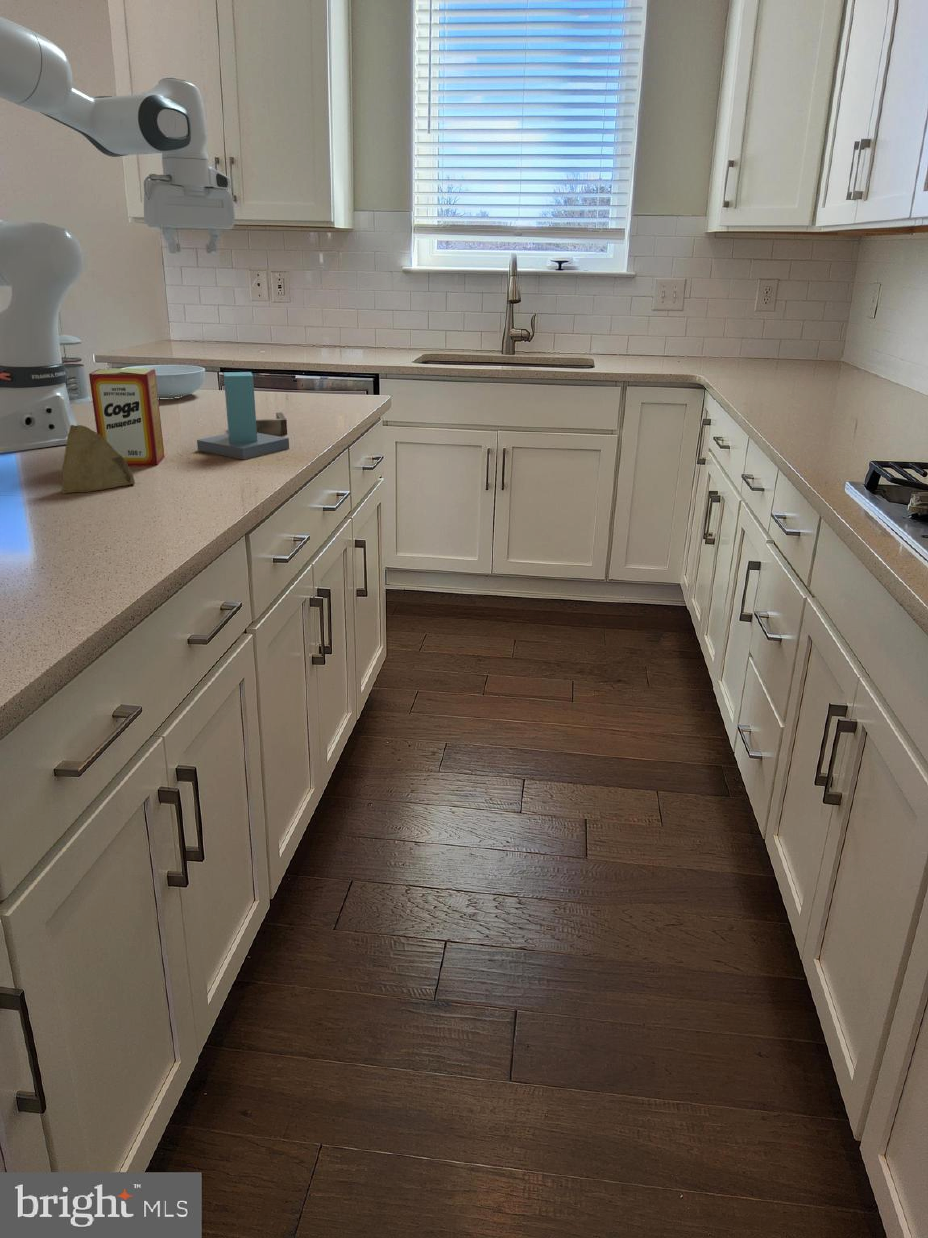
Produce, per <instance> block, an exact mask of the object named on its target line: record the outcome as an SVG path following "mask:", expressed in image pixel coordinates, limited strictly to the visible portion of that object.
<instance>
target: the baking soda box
mask: <svg viewBox="0 0 928 1238" xmlns="http://www.w3.org/2000/svg"><path fill="white" fill-rule="evenodd" d="M125 368H126V367H125ZM88 377H89V383H90V384H89V385H90V392H91V398H92V400H93V401H92V405H93V406H92V407H93V413H94V421H95V428H96V433H98V434H99V435H101V436H103V437H104V439H105V440H106V441H107V442H108V443H109V444H110V445H111V446H112V447H113V448H114V450H115V451H116V452H117V453H118V454H119V455H121V456H122V457H123V458H124V459H125V461H126V463H127V465H128V467H131V466H135V467H137V466H139V467H141V466H144V467H145V466H147V467H148V466H149V467H150V466H151V467H153V466H156V467H157V466H159V464H160V463H161V462H162V461H163V460H164V459H165V449H164V448H165V447H164V440H163V439H164V438H163V431H162V420H161V412H160V411H161V410H160V403H159V402H160V400H158V392H157V382H156V373H155V369H134V368H126V369H121V368H98V369H96V370H94V371H92V372H90V373H89V374H88Z"/></svg>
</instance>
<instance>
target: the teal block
mask: <svg viewBox="0 0 928 1238" xmlns="http://www.w3.org/2000/svg"><path fill="white" fill-rule="evenodd" d="M223 381H224V384H223V385H224V394H225V396H224V397H225V406H226V407H225V408H226V419H227V421H226V422H227V430H228V431H227V432H228V433H227V434H229V440H230V442H250V441H257V427H256V420H257V415H256V400H255V399H256V398H255V386H254V375H253V373H252V371H239V372H238V371H236V372H234V371H232V372H231V371H230V372H227V371H226V372H223Z"/></svg>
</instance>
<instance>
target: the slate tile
mask: <svg viewBox="0 0 928 1238" xmlns="http://www.w3.org/2000/svg"><path fill="white" fill-rule="evenodd" d="M196 443H197V451H198V452H203V453H209V454H214V455H220V456H222V457H223V456H224V457H229V458H233V457H235V459H239V460H247V459H250V458H249V457H251V458H255V457H259V456H263V455H264V456H265V455H268V454H271V453H276V452H279V451H285V450H288V449H290V439H289V437H284V436H280V435H268V434H262V433H257V441H250V442H230V440H229V434H228V433H224V434H219V435H214V436H210V437H205V438H200V439H197V440H196ZM246 458H247V459H246Z"/></svg>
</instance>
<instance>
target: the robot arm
mask: <svg viewBox="0 0 928 1238" xmlns="http://www.w3.org/2000/svg"><path fill="white" fill-rule="evenodd" d="M73 76H74V75H73V71H72V68H71V64H70V61H69V59H68V57H67V55H66V53H65V52H64V51H63V49H61V48H60V47H59V46H57V45H56V44H55V43H54V42H52V41H51V40H49V39H48V38H47V37H46V36H43V35H42V34H39V33H38V32H36V31H34V30H32V29H29V28H27V27H26V26H24V25H21V24H19V23H17V22H16V21H15V22H14V21H12V20H9V19H8V18H5V17H3V16H0V98H1V99H4V100H6V101H8V102H10V103H13V104H15V105H17V106H20V107H23V108H25V109H28V110H31V111H34V112H37V113H40V114H42V115H44V116H46V117H48V118H49V119H52V120H54V121H56V122H57V123H60V124H62V125H64V126H65V127H67V128H70V129H72V130H73V131H75V132H77V133H78V134H81V135H82V136H83V137H85V139H86V140H88V141H89V142H90V143H91V144H92V145H93V146H94V147H95V149H97V150H98V151H99V152H101V153H103V155H106V156H108V157H111V158H118V157H125V156H130V155H131V156H133V155H149V154H150V155H152V154H161V163H162V164H161V165H162V173H163V174H156V173H150V174H149V175H148V176H146V178H144V180H143V191H144V193H143V218H144V222H145V224H146V225H147V227H149V228H161V235H162V236H163V237H164V239H165V242H167V244H168V251H169V253H170V254H181V252H182V250H181V243H178V242H177V241H176V238H175V236H174V235H175V234H176V230H175V229H177V228H179V229H202V230H203V229H207V233H208V236H209V235H210V237H209V241H208V243H205V248H206V249H205V251H206V253H207V254H217V253H218V243H219V241H220V239H221V236H222V235H221V233H222V232H221V231H222V230H232V229H233V228H234V226H235V223H236V219H235V218H236V217H235V206H234V199H233V195H232V193H231V191H229V189H231V188H232V180H231V178H230V177H229V176H227V175H225V174H224V173H222V172H220V171H218V170H217V169H215V168H214V167H212V166H210V157H209V154H208V150H207V140H208V129H207V118H206V111H205V107H204V106H205V105H204V100H203V98H202V97H203V96H202V94H201V91H200V90H199V88H198V86H196V85H194V84H193V83H192V82H189V81H188V80H184V79H180V78H179V79H178V78H175V77H174V78H173V77H164V78H161V79H160V80H159V81H158V84H157V85H155V87H153V88H151V89H149V90H147V91H145V92H141V94H140V93H138V94H129V95H117V96H116V95H114V96H110V95H99V96H89V95H87V94H85V93H84V92H81V91H80V90H78V89H76V88H74V87H73V86H74V78H73ZM83 268H84V253H83V250H82V246H81V244H80V242H79V240H78V239H77V237H76V236H75V235H74V234H73V232H71V231H70V230H69V229H67V228H65V227H60V226H57V225H53V224H48V223H44V222H34V221H33V222H32V221H31V222H30V221H29V222H27V221H26V222H25V221H24V222H21V221H5V220H3V219H0V287H11V297H10V302H9V304H8V306H7V307H6V308H4V310H2V311H0V454H3V453H11V452H12V453H13V452H18V451H25V450H33V449H39V448H41V449H42V448H47V447H54V446H55V447H56V446H63V445H66V443H67V440H68V435H69V432H70V427H71V425H75V426H77V425H78V423H77V421H76V418H75V415H74V412H73V409H72V405H71V404H70V401H69V397H68V393H67V389H68V388H67V378H68V377H67V375H66V370H65V364H66V363H63V362H62V359H61V357H62V353H61V345H60V343H59V335H60V334H59V312H60V309H61V304H62V302H63V300H64V297H65V295H66V293H67V292H68V290H69V288H70V287H71V286H72V285H73V284H74V283H75V282H76V281H78V280H79V278H80V276H81V274H82V272H83Z"/></svg>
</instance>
